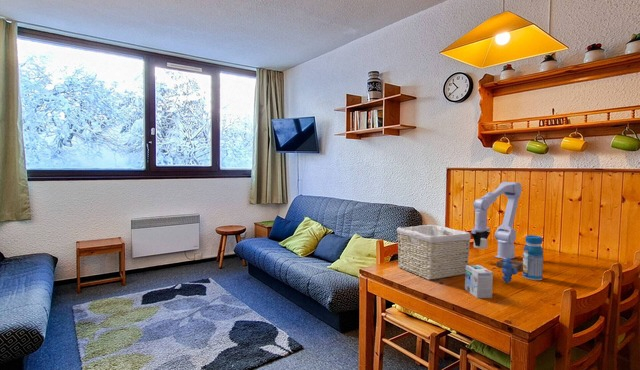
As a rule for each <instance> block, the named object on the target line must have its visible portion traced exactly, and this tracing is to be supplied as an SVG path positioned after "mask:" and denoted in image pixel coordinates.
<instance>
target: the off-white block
mask: <svg viewBox="0 0 640 370" xmlns="http://www.w3.org/2000/svg"><path fill="white" fill-rule="evenodd" d="M473 248H474V249H475V248H476V249H480V250H484V249H488V238H487V239H485V238H481V240H480V246H475V242H474V241H473Z"/></svg>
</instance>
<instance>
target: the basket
mask: <svg viewBox="0 0 640 370" xmlns="http://www.w3.org/2000/svg"><path fill="white" fill-rule="evenodd" d="M396 233H397V247H398V248H397V249H398V250H397V251H398V254H397V255H398V269H403V270H405V271H408V272H410V273H412V274H415V275H416V276H419V277H422V278H424V279H426V280H427V281H431V280H437V279H444V278H452V277H456V276H462V275H465V268H466V265H469V256H470V243H471V242H470V241H471V236H472V234H471V232H468V231H464V230H458V229H453V228H449V227H447V226H441V225H437V224H436V225H435V224H427V225H425V224H423V225H421V224H420V225H416V226H408V227H407V226H406V227H400V226H399V227H397V228H396Z"/></svg>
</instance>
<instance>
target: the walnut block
mask: <svg viewBox="0 0 640 370" xmlns="http://www.w3.org/2000/svg"><path fill="white" fill-rule="evenodd" d="M503 260H504V259H502V260H501V259H500V260H498V261H496V265H495V266H496V267H497V268H501V269H502V268H504V267H503V265H502V264H503V263H505V262H504V261H503ZM511 261H512V263H511V264H512V266H513V267H512V268H515V269H516V270H517V271H518V272H519V271H520V270H523V261H517V260H514V259H511Z"/></svg>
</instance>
